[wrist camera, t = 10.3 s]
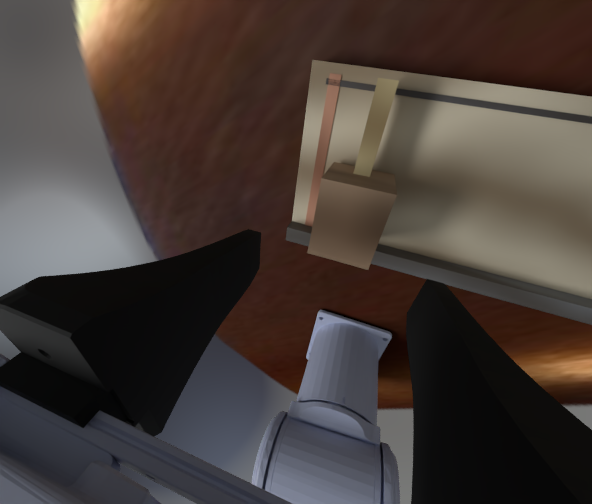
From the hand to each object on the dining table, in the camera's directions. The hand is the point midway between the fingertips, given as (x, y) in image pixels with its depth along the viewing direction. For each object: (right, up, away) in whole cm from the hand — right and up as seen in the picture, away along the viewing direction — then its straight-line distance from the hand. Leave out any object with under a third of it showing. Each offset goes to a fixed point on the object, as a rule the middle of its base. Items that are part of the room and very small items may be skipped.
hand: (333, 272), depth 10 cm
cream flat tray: (+12, +4, +6) cm, 14 cm away
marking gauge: (+3, +6, +5) cm, 9 cm away
